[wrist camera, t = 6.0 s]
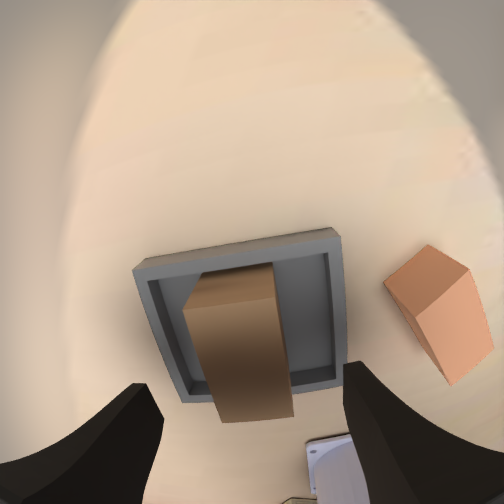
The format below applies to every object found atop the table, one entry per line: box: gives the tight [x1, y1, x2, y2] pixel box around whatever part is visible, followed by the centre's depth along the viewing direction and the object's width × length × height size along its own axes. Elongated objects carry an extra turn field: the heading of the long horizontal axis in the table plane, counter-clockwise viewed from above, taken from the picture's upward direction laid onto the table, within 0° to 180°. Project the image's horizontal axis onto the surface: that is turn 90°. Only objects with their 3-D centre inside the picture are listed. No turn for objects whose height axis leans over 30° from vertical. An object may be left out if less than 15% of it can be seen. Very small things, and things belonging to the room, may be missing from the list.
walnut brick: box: [183, 262, 294, 423], centre depth 13 cm, size 6×3×4 cm, turn 10°
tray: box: [132, 227, 347, 403], centre depth 14 cm, size 8×9×2 cm
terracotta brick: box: [383, 245, 494, 386], centre depth 13 cm, size 6×3×4 cm, turn 40°
